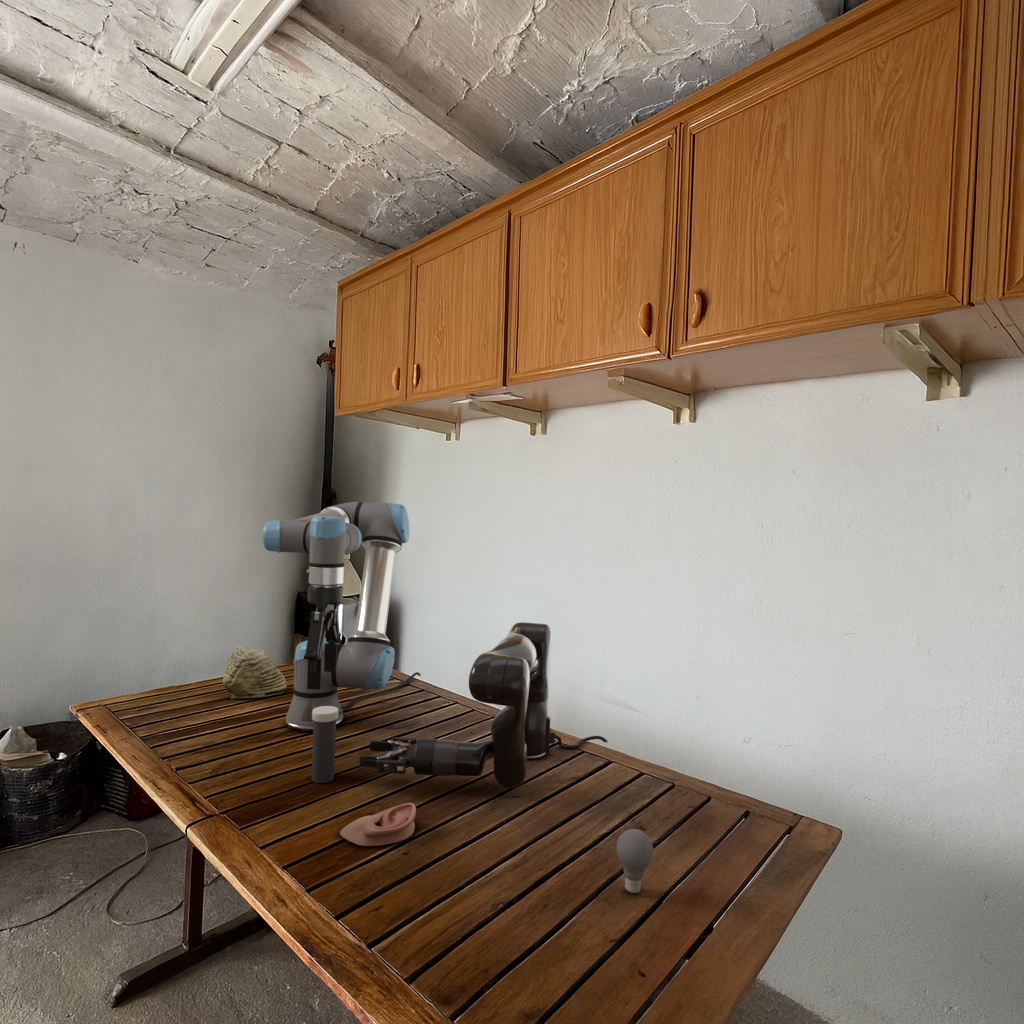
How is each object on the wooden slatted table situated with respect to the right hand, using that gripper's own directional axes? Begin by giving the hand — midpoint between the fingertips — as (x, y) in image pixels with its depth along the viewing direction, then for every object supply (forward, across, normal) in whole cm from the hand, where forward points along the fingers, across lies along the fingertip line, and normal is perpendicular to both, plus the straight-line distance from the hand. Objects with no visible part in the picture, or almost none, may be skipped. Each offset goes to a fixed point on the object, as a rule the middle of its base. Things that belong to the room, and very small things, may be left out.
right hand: (365, 753), depth 142 cm
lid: (+10, 0, -9) cm, 13 cm away
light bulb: (-54, +34, +6) cm, 65 cm away
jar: (+10, 0, +6) cm, 11 cm away
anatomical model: (-8, +21, +6) cm, 23 cm away
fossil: (+49, -55, +6) cm, 74 cm away
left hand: (+10, 0, -16) cm, 19 cm away
